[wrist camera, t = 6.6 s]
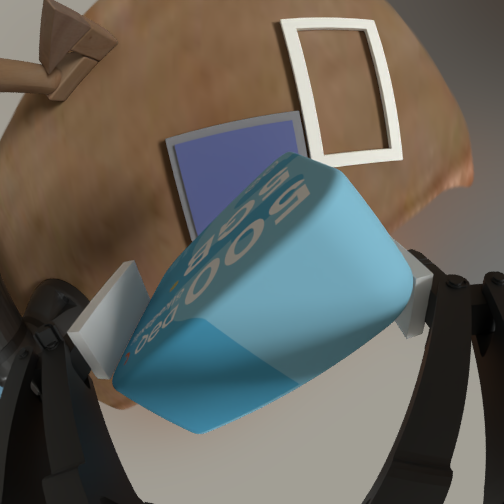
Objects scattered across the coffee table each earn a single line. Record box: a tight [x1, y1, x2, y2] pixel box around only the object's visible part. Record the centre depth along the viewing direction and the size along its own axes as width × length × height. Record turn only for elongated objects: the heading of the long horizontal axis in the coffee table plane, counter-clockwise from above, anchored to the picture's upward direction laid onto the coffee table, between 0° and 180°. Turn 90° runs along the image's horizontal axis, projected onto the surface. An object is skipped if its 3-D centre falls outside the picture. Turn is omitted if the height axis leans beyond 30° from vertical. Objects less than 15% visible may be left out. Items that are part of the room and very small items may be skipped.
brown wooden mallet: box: [0, 0, 118, 101], centre depth 15 cm, size 4×11×18 cm, turn 127°
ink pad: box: [165, 111, 308, 242], centre depth 31 cm, size 15×17×2 cm
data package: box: [112, 152, 413, 434], centre depth 13 cm, size 12×4×12 cm, turn 135°
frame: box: [280, 18, 403, 167], centre depth 26 cm, size 12×19×1 cm, turn 11°
